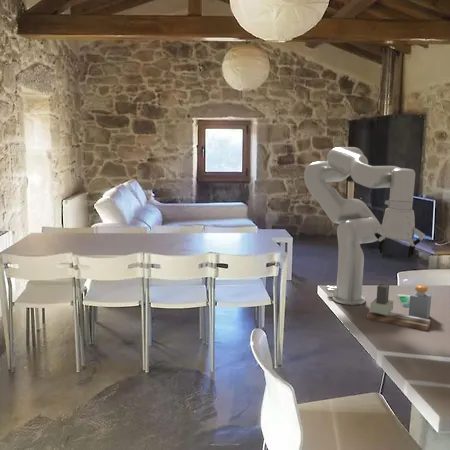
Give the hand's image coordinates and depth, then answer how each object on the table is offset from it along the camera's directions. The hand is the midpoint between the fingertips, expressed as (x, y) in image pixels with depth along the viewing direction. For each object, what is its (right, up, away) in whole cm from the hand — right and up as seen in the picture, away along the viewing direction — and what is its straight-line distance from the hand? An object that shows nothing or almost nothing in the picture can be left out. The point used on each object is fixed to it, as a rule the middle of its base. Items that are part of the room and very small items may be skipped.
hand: (395, 254), depth 182 cm
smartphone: (+13, -20, +23) cm, 33 cm away
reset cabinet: (+10, -22, +6) cm, 25 cm away
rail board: (+1, -23, +1) cm, 23 cm away
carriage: (-4, -20, +4) cm, 20 cm away
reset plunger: (+10, -17, +5) cm, 20 cm away
